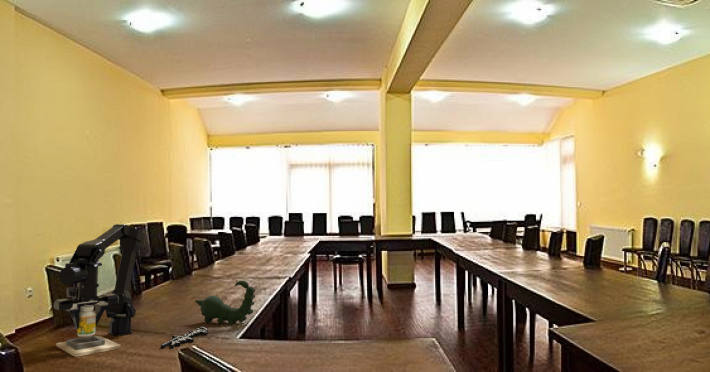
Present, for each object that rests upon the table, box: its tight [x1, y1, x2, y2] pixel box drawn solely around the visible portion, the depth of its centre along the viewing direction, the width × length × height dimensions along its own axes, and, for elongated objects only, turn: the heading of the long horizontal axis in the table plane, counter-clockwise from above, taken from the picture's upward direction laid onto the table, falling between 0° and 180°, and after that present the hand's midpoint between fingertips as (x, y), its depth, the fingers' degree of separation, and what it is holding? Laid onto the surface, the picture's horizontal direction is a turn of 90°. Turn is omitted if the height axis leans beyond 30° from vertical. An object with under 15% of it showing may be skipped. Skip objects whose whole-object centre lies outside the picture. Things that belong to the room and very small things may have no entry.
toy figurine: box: [194, 280, 256, 326], centre depth 203 cm, size 9×19×25 cm
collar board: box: [55, 335, 122, 358], centre depth 164 cm, size 14×18×2 cm
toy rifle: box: [160, 326, 209, 350], centre depth 177 cm, size 27×2×10 cm
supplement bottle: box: [76, 304, 97, 338], centre depth 164 cm, size 5×5×10 cm
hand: (86, 327), depth 164 cm, fingers closed on supplement bottle, 5 cm apart
